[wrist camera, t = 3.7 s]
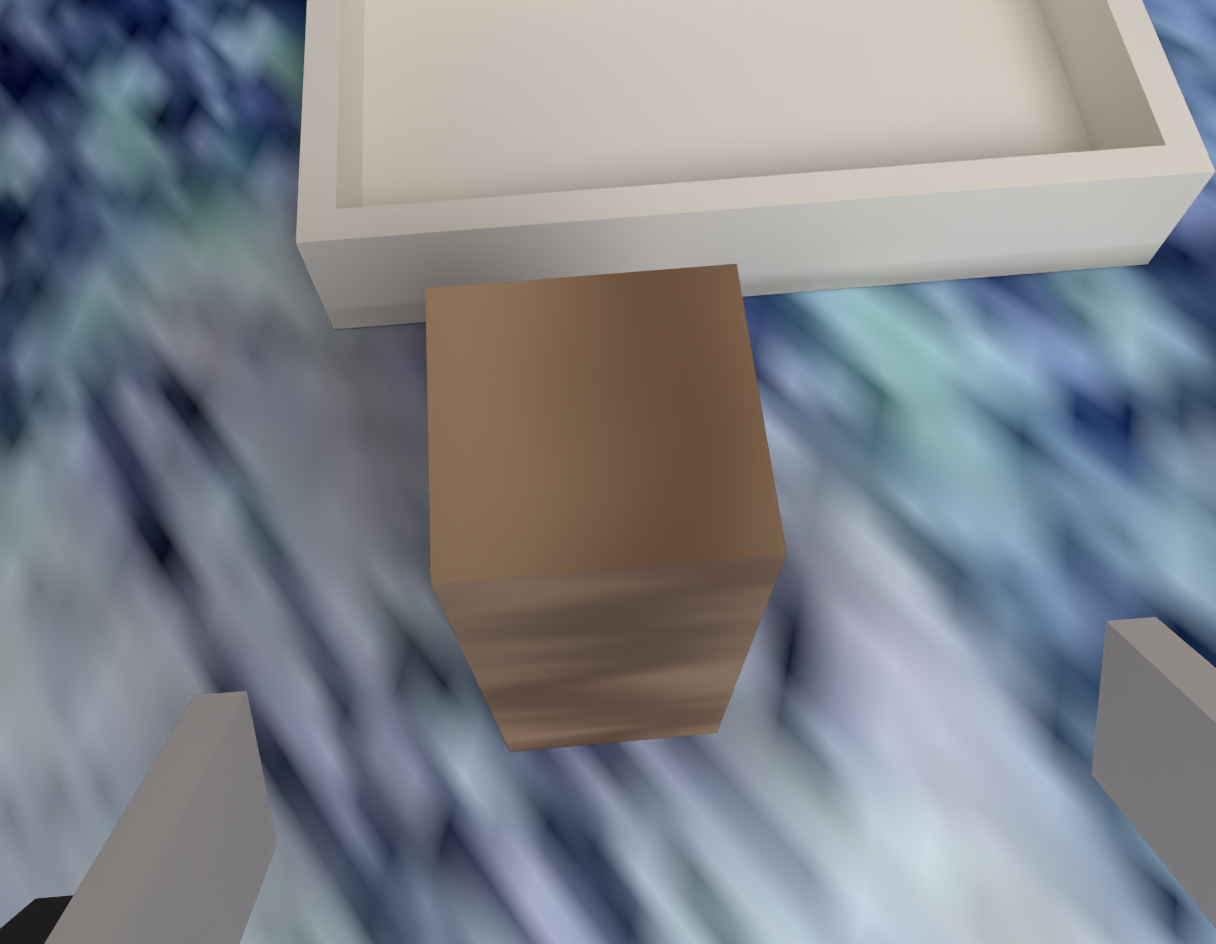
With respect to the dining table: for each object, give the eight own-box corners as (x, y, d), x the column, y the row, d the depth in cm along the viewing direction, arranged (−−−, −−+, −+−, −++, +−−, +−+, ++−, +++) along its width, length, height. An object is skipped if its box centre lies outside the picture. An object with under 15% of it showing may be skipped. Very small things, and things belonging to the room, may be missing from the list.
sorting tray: (333, 329, 31) (295, 243, 27) (343, -51, 38) (314, -160, 34) (1147, 264, 32) (1215, 171, 28) (1011, -98, 38) (1052, -209, 35)
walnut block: (509, 751, 26) (430, 584, 15) (501, 557, 28) (425, 288, 17) (716, 733, 26) (786, 553, 15) (691, 541, 28) (736, 263, 17)
